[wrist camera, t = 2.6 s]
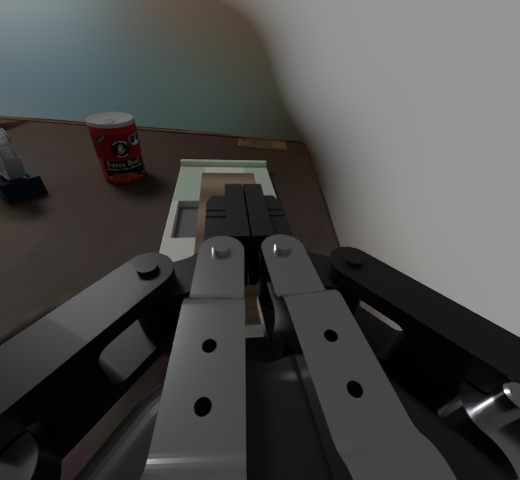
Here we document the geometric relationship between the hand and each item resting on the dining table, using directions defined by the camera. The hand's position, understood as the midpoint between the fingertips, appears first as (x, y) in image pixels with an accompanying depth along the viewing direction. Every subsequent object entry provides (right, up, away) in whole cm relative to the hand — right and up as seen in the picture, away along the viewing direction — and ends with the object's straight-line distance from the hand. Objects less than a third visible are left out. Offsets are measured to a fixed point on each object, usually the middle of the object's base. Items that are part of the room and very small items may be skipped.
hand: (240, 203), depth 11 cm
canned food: (-26, +11, +41) cm, 50 cm away
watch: (-40, +6, +34) cm, 53 cm away
